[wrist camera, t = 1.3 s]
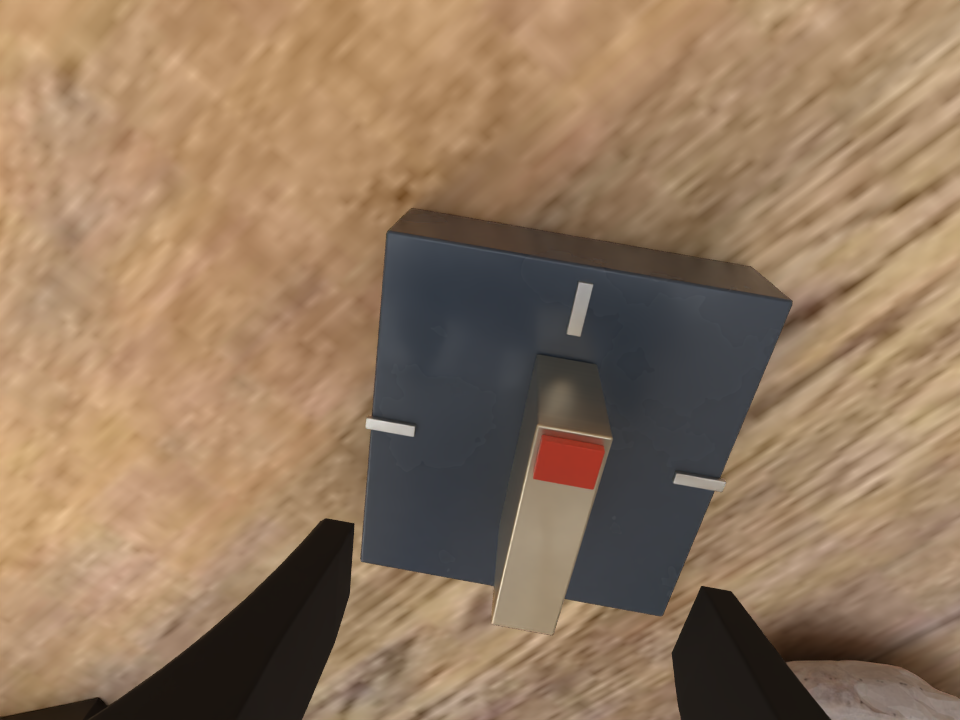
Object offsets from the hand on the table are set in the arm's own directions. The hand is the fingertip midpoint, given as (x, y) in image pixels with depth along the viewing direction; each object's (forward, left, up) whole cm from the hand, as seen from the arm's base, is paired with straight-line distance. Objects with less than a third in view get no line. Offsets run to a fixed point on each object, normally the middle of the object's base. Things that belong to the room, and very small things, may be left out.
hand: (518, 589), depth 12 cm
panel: (0, -1, -8) cm, 8 cm away
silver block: (0, -1, -5) cm, 5 cm away
